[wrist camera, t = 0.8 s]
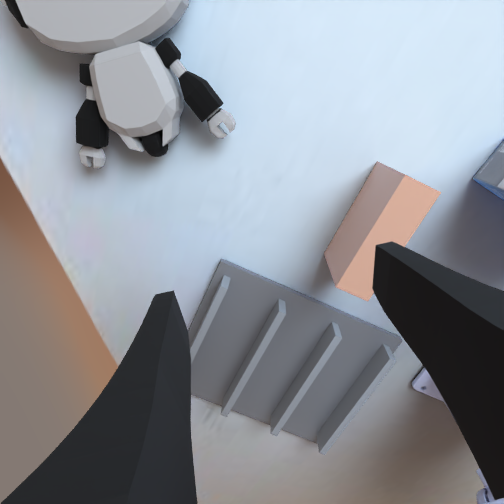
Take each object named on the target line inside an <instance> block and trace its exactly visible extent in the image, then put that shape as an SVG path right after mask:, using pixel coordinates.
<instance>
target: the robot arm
mask: <svg viewBox="0 0 504 504" xmlns="http://www.w3.org/2000/svg"><path fill="white" fill-rule="evenodd" d="M372 289H373V291H374V293H375V295H376V297H377V299H378V301H379V303H380V305H381V306H382V308H383V310H384V312H385V313H386V315H387V316H388V318H389V319H390V320H391V322H392V323H393V325H394V326H395V327H396V329H397V330H398V331H399V333H400V334H401V336H402V337H403V338H404V340H405V341H406V342H407V344H408V345H409V346H410V348H411V349H412V351H413V352H414V353H415V355H416V356H417V357H418V359H419V360H420V361H421V363H422V364H423V366H424V368H423V370H422V371H421V372H420V373H419V375H418V376H417V377H416V378H415V379H414V381H413V382H412V386H413V388H414V389H415V390H417V391H419V392H422V393H424V394H426V395H429V396H431V397H434V398H436V399H438V400H441V401H443V402H445V404H446V406H447V407H448V409H449V411H450V413H451V414H452V416H453V418H454V419H455V421H456V423H457V424H458V426H459V428H460V430H461V432H462V434H463V436H464V438H465V440H466V442H467V444H468V446H469V448H470V450H471V451H472V453H473V455H474V457H475V459H476V461H477V464H478V466H479V469H478V470H477V471H476V472H477V474H478V475H479V477H480V479H481V481H482V483H483V484H484V486H485V488H483V489H481V490H480V491H478V492H477V504H504V291H502V290H499V289H496V288H493V287H491V286H488V285H485V284H483V283H480V282H478V281H476V280H473V279H471V278H469V277H466V276H464V275H462V274H459V273H457V272H455V271H453V270H451V269H448V268H446V267H444V266H442V265H440V264H438V263H436V262H434V261H432V260H430V259H428V258H426V257H424V256H422V255H420V254H418V253H416V252H414V251H412V250H410V249H408V248H406V247H403V246H401V245H399V244H397V243H395V242H392V241H391V242H387V243H382V244H378V245H376V247H375V260H374V273H373V286H372ZM422 386H424V387H422ZM421 387H422V388H421ZM190 415H191V354H190V344H189V336H188V330H187V328H186V325H185V322H184V319H183V316H182V313H181V310H180V307H179V305H178V302H177V299H176V296H175V293H174V291H170V292H165V293H161V294H156V295H155V296H154V298H153V300H152V302H151V305H150V307H149V309H148V312H147V314H146V316H145V318H144V320H143V323H142V325H141V327H140V329H139V331H138V333H137V335H136V337H135V339H134V340H133V342H132V344H131V346H130V348H129V350H128V351H127V353H126V355H125V357H124V358H123V360H122V362H121V364H120V365H119V367H118V369H117V370H116V372H115V373H114V375H113V377H112V378H111V380H110V381H109V383H108V384H107V386H106V387H105V388H104V390H103V391H102V393H101V394H100V396H99V397H98V398H97V400H96V401H95V402H94V404H93V405H92V406H91V407H90V409H89V410H88V411H87V413H86V414H85V415H84V416H83V418H82V419H81V420H80V421H79V423H78V424H77V425H76V426H75V428H74V429H73V430H72V431H71V432H70V433H69V435H67V437H66V438H65V439H64V440H63V441H62V442H61V443H60V445H59V446H58V447H57V448H56V449H55V450H54V451H53V452H52V453H51V454H50V455H49V457H47V459H46V460H45V461H44V462H43V463H42V464H41V465H40V466H39V467H38V468H37V469H36V470H35V471H34V472H33V473H32V474H31V475H30V476H28V477H27V479H26V480H25V481H23V482H22V483H21V484H20V485H19V486H18V487H17V488H16V489H15V490H14V491H13V492H12V493H11V494H10V495H9V496H8V497H7V498H6V499H5V500H4V501H3V502H1V504H197V497H196V486H195V476H194V466H193V454H192V442H191V423H190Z"/></svg>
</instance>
